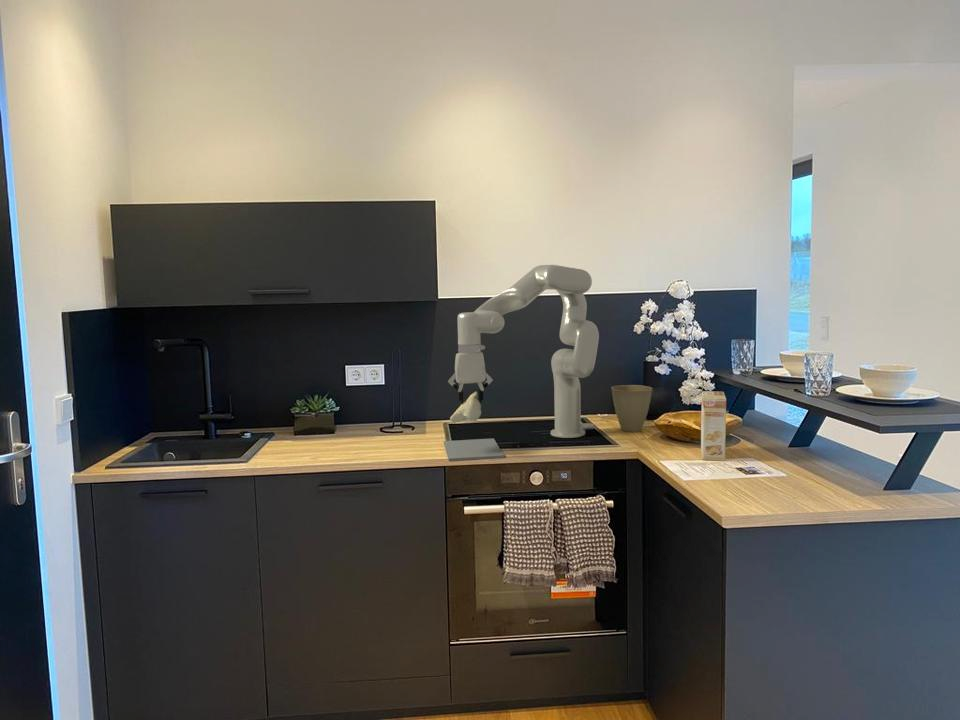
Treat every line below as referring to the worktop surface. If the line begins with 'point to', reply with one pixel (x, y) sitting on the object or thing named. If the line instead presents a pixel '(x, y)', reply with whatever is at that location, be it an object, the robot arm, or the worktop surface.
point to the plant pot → (631, 405)
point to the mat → (472, 449)
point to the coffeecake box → (713, 425)
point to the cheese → (468, 410)
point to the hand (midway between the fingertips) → (471, 402)
